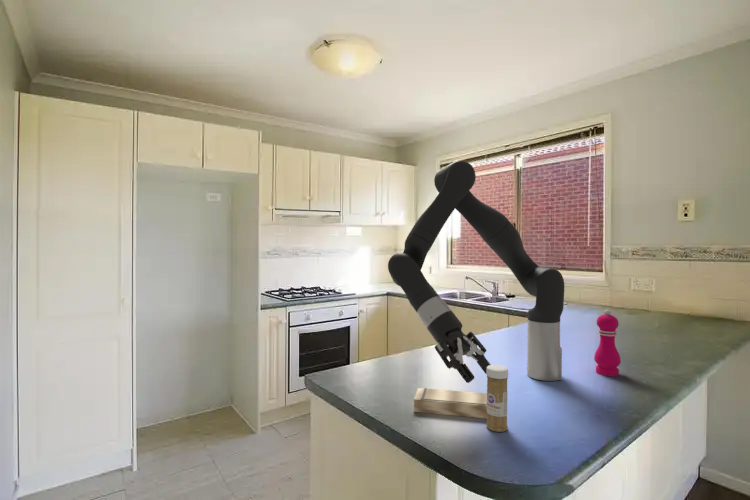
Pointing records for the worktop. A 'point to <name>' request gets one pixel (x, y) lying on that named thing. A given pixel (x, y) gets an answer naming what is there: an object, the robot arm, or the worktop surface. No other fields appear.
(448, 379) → the worktop surface
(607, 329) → the pepper mill
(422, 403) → the maple plank
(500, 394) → the sprinkles bottle
